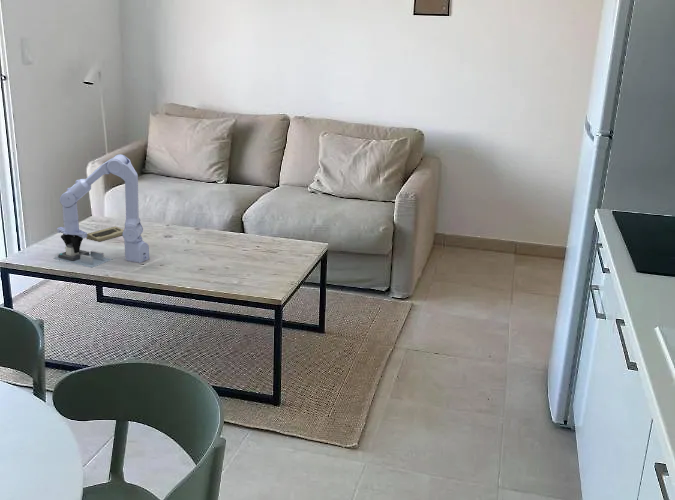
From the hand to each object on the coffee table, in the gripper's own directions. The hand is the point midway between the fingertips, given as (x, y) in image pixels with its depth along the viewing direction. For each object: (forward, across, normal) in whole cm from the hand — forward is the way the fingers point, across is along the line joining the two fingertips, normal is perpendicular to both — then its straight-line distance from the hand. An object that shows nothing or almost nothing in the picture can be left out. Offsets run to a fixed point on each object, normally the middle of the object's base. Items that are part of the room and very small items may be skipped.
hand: (73, 251), depth 299 cm
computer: (+4, -10, +29) cm, 31 cm away
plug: (+2, 0, -1) cm, 2 cm away
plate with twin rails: (+2, +10, 0) cm, 10 cm away
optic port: (+2, 0, 0) cm, 2 cm away
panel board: (+3, +5, 0) cm, 6 cm away
